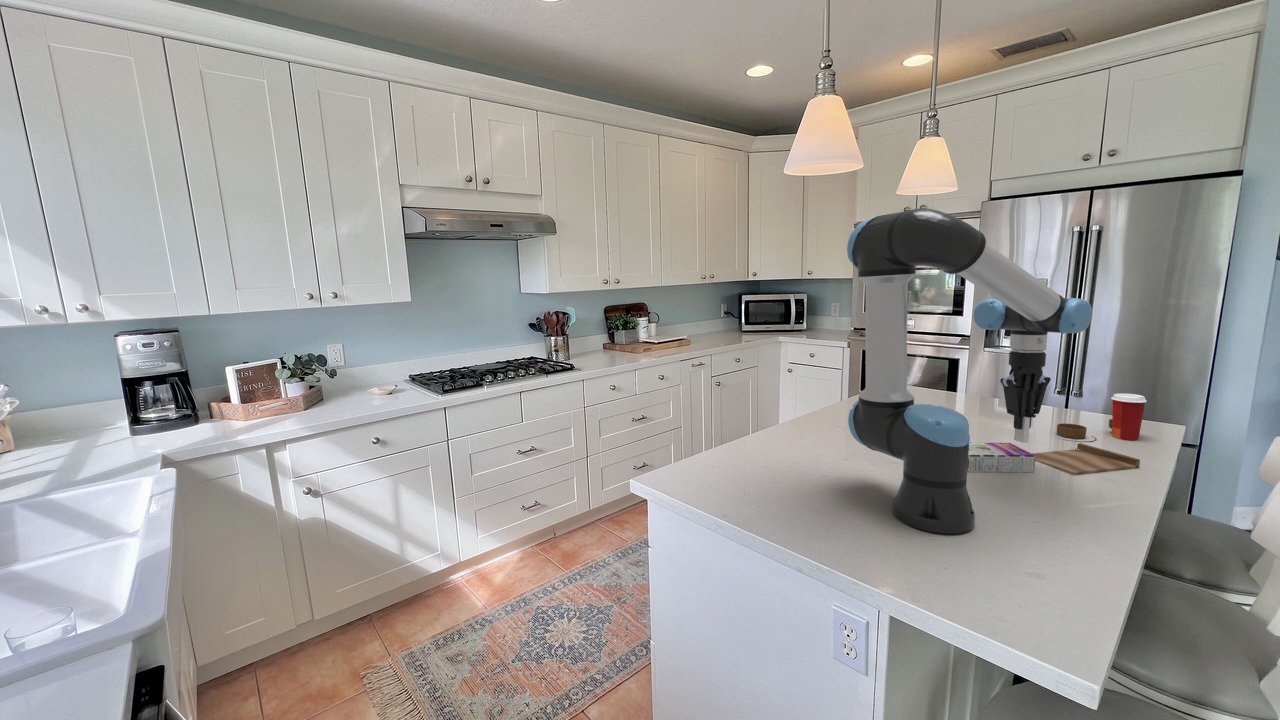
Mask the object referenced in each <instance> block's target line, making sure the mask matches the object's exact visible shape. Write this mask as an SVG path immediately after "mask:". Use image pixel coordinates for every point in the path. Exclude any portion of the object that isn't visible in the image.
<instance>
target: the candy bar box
mask: <svg viewBox="0 0 1280 720" xmlns="http://www.w3.org/2000/svg"><path fill="white" fill-rule="evenodd" d="M1035 463H1036V461H1035V455H1033V454H1032V453H1031V452H1030V451H1027V450H1025V449H1023V448H1021V447H1019V446H1017V445H1015V444H1013V443H1011V442H969V453H968V467H967V473H968V472H971V473H972V472H974V473H975V472H976V473H979V472H980V473H1031V474H1033V473H1034V472H1035V467H1036V465H1035Z"/></svg>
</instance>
